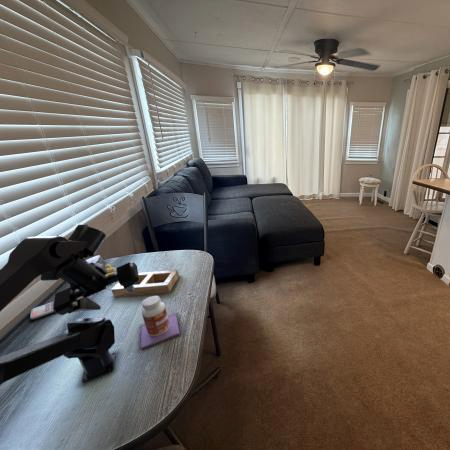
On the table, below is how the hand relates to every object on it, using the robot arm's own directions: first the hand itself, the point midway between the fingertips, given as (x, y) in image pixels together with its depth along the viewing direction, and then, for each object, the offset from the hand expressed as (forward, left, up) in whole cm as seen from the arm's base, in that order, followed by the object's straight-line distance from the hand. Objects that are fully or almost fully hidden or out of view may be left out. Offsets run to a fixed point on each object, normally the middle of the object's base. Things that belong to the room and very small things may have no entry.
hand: (117, 299), depth 70 cm
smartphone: (+30, +22, -13) cm, 40 cm away
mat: (-4, -8, -13) cm, 16 cm away
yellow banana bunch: (+45, +11, -13) cm, 49 cm away
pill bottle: (-4, -8, -13) cm, 15 cm away
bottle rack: (+26, -6, -13) cm, 30 cm away
